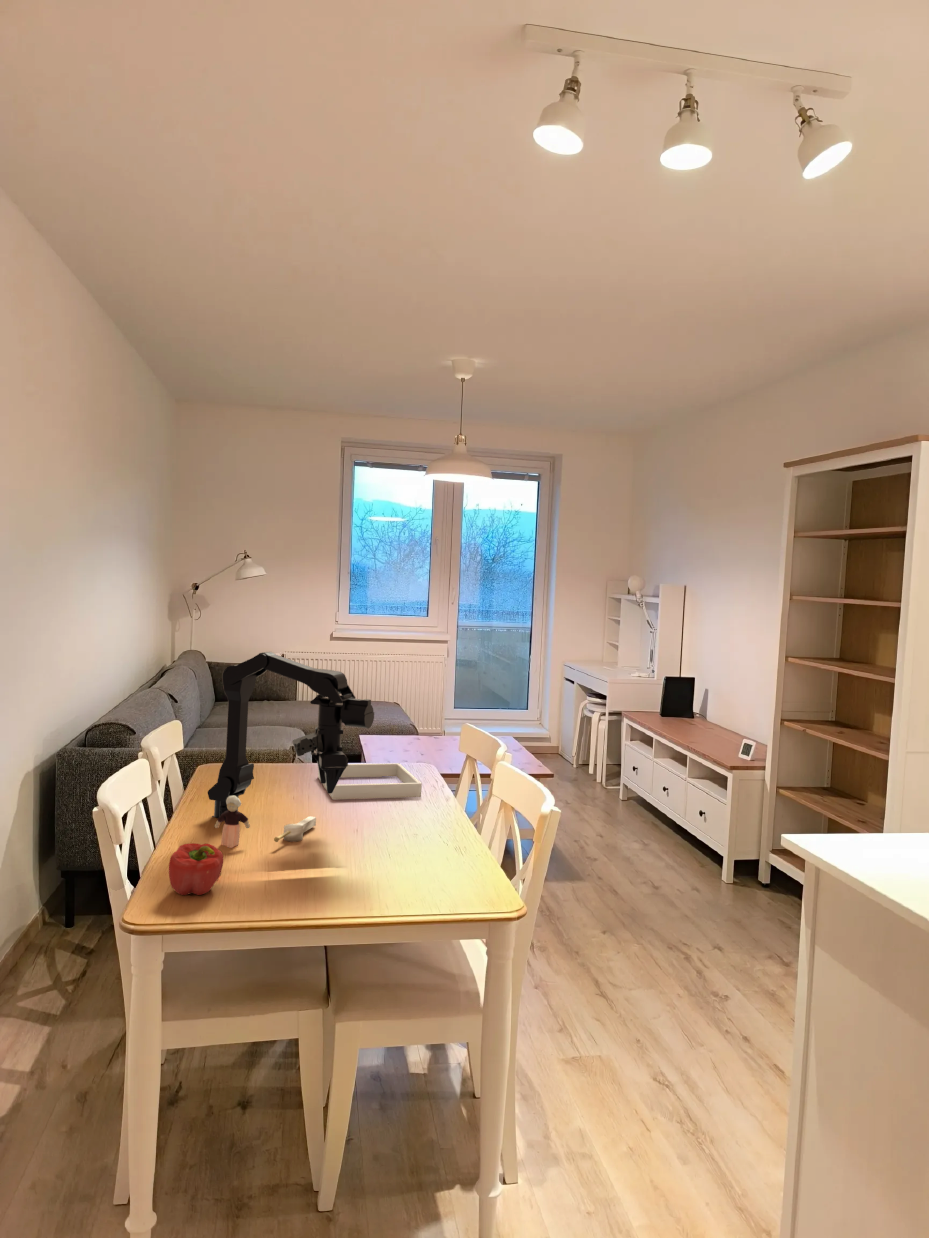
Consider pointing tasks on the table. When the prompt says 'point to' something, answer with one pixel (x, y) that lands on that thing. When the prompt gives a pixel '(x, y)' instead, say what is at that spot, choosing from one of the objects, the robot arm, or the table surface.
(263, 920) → the table surface
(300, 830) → the beige dial pointer lever
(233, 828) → the grandmother figurine
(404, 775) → the tray
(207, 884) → the vegetable
